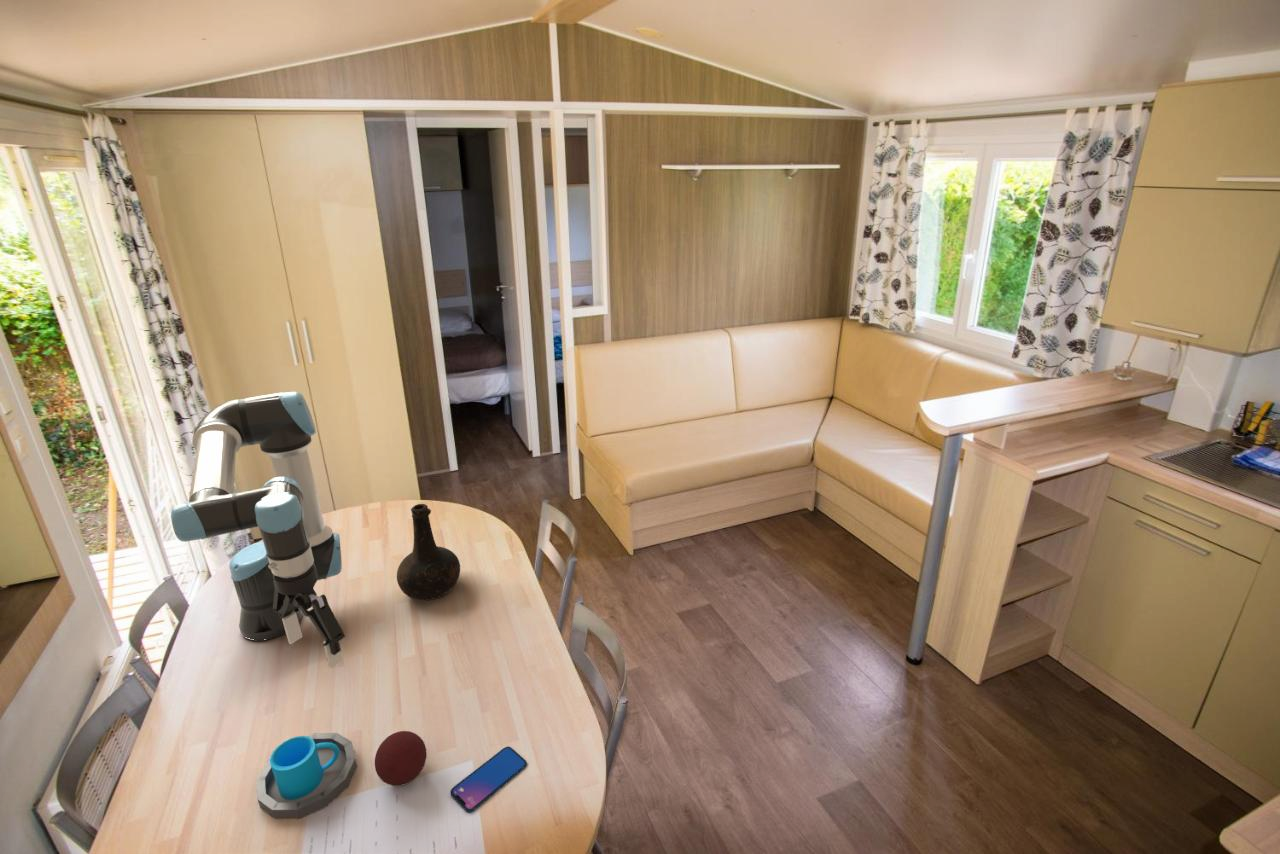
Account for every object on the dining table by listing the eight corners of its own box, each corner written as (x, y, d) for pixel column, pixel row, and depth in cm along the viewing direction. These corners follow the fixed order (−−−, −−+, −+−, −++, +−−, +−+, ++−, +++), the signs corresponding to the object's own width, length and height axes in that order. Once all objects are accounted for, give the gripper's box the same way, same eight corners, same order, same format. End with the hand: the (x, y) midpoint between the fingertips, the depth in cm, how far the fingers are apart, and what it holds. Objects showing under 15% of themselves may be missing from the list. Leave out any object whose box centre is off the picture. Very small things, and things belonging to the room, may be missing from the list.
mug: (281, 807, 127) (271, 777, 124) (276, 776, 133) (267, 747, 130) (346, 777, 133) (338, 748, 130) (339, 749, 139) (331, 721, 136)
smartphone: (529, 763, 136) (469, 813, 125) (529, 766, 136) (469, 816, 126) (507, 744, 140) (447, 790, 130) (508, 747, 140) (448, 793, 130)
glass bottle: (405, 616, 180) (389, 530, 170) (396, 582, 195) (380, 501, 184) (469, 597, 188) (457, 514, 177) (455, 566, 203) (443, 487, 192)
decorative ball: (380, 804, 128) (371, 768, 124) (377, 764, 136) (369, 729, 132) (432, 786, 131) (425, 750, 127) (426, 748, 140) (420, 713, 136)
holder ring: (240, 793, 130) (237, 784, 129) (319, 729, 145) (317, 721, 144) (296, 834, 122) (293, 825, 121) (374, 762, 137) (372, 754, 136)
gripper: (238, 558, 130) (263, 641, 138) (315, 599, 118) (338, 686, 127) (273, 540, 136) (295, 620, 144) (351, 577, 124) (370, 662, 133)
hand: (315, 651), depth 136 cm, fingers open, 13 cm apart
